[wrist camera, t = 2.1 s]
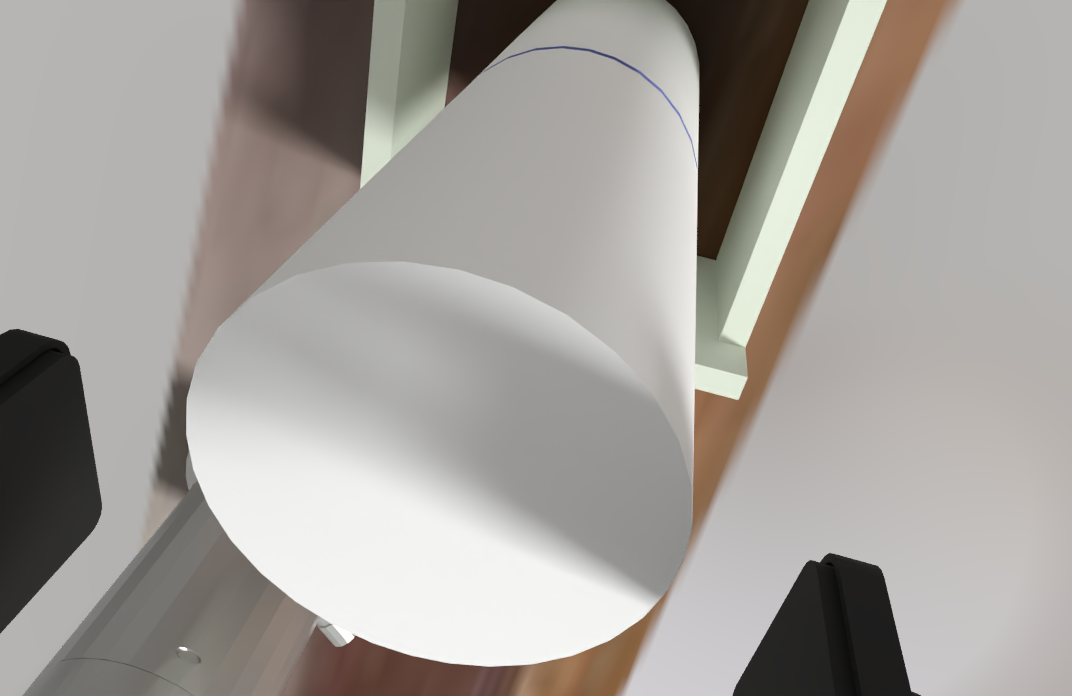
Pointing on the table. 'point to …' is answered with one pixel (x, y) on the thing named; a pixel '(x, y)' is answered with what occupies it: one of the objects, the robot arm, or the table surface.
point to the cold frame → (768, 190)
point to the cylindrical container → (483, 362)
